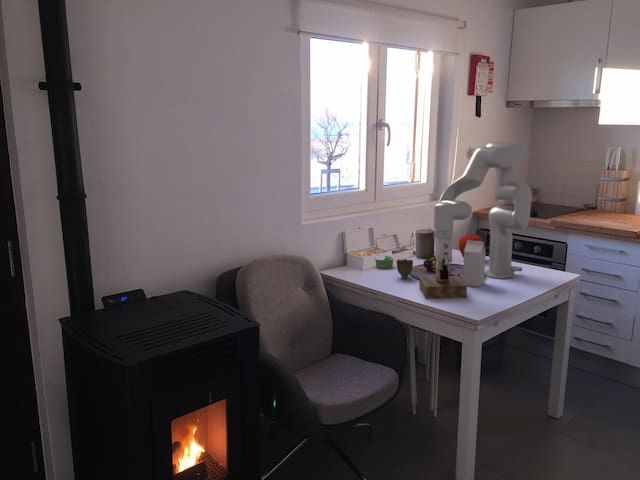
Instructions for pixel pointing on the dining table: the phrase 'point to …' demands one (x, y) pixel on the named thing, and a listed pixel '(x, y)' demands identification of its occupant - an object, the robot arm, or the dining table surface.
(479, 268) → the milk carton
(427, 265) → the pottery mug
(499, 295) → the dining table surface
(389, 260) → the ramekin
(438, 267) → the oak peg
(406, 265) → the dark rounded textured piece
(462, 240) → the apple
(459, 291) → the walnut block
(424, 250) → the pillar candle
